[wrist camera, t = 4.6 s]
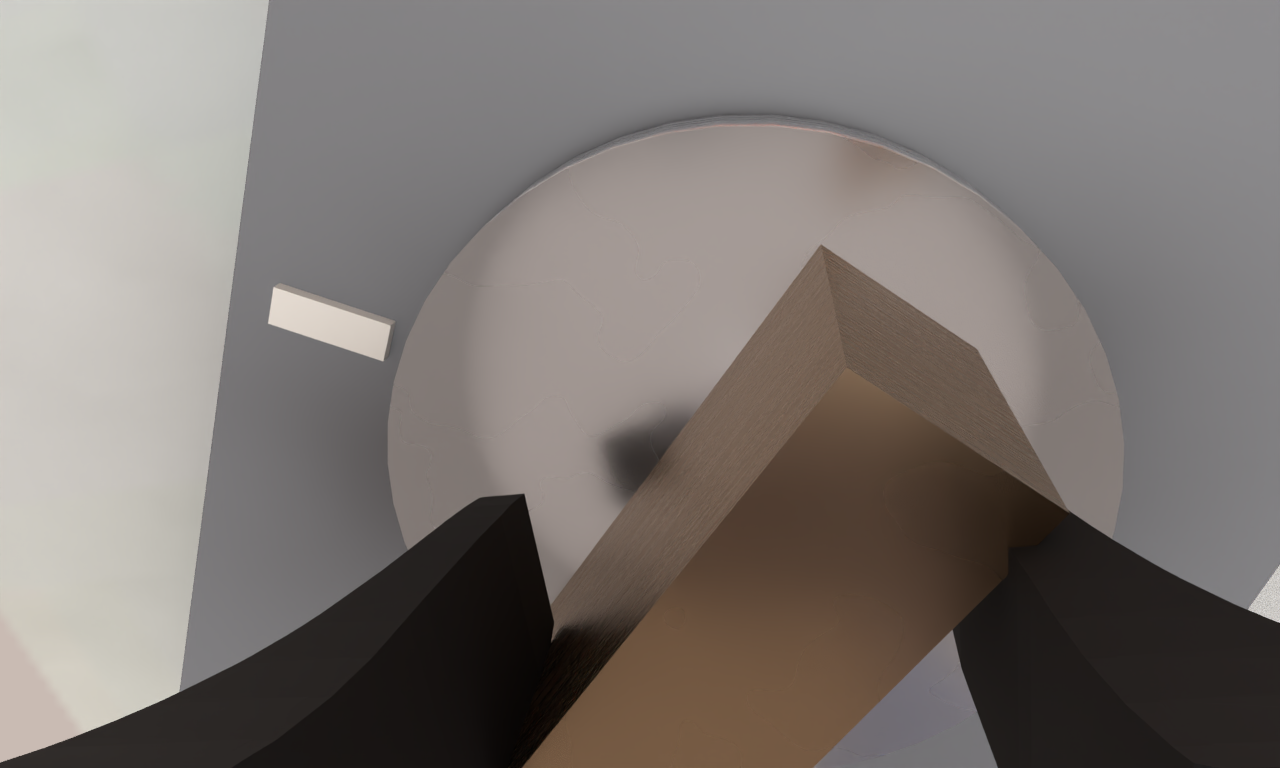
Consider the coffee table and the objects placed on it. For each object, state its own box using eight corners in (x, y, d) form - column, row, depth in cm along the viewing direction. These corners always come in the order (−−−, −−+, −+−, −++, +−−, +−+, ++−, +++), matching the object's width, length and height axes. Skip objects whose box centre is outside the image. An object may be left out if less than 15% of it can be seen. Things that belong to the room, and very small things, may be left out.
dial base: (967, 910, 20) (985, 991, 18) (216, 669, 19) (169, 729, 18) (1573, 5, 12) (1689, 11, 11) (376, -401, 12) (319, -455, 11)
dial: (1263, 388, 13) (1538, 618, 8) (812, 818, 17) (831, 1136, 12) (635, -50, 12) (551, -62, 7) (307, 525, 16) (119, 754, 11)
